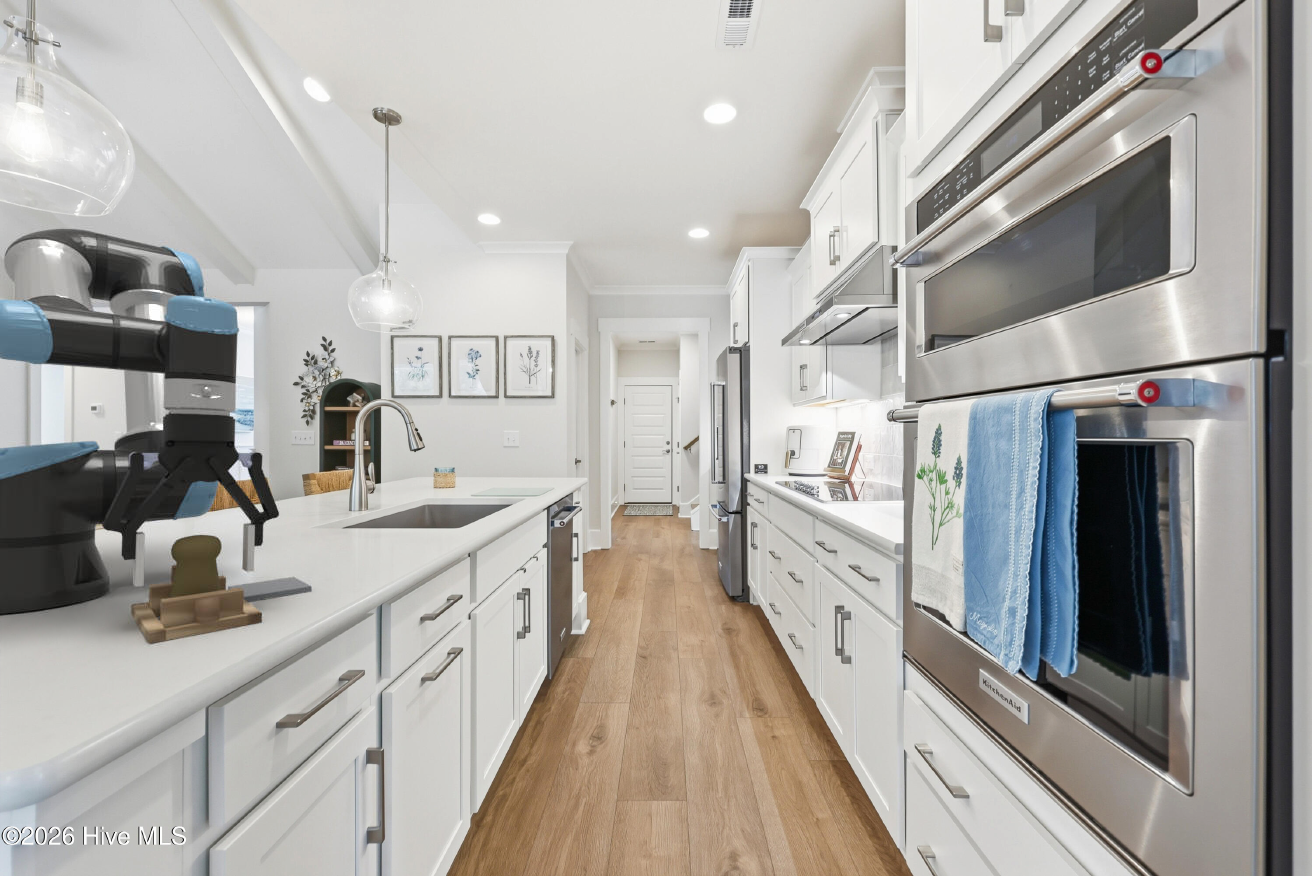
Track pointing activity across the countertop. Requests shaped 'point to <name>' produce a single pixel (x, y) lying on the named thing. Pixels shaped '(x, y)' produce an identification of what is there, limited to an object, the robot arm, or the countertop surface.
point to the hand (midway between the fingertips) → (196, 577)
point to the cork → (195, 565)
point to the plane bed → (192, 612)
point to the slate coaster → (272, 588)
